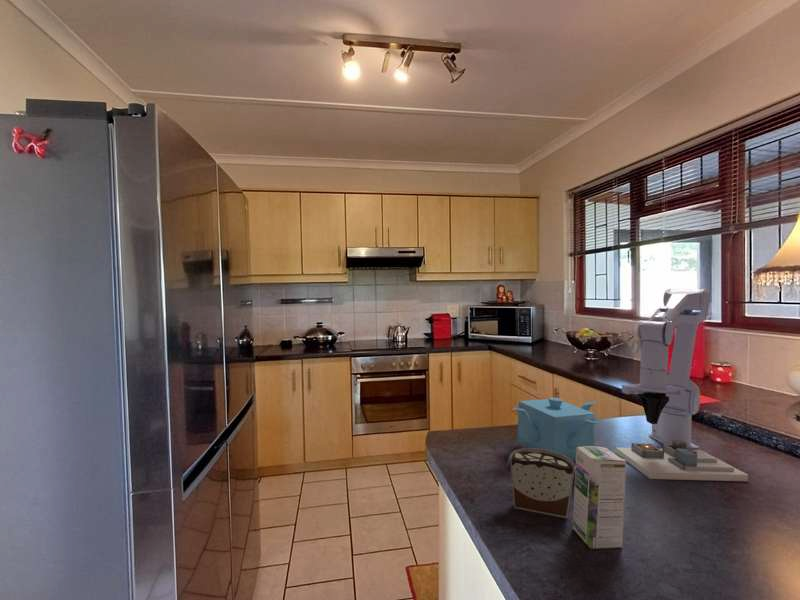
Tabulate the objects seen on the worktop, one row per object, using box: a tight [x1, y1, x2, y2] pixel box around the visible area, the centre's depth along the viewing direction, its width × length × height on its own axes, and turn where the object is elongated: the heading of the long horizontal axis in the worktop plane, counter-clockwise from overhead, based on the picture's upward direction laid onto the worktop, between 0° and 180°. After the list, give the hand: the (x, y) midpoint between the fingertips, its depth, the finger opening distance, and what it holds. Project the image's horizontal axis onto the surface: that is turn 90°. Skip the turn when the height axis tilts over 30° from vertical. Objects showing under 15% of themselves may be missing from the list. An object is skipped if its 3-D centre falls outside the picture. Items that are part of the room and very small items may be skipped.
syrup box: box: [572, 445, 627, 550], centre depth 65 cm, size 6×6×14 cm
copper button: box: [640, 443, 655, 450], centre depth 98 cm, size 3×3×2 cm
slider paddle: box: [675, 448, 697, 466], centre depth 91 cm, size 4×2×3 cm, turn 0°
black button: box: [672, 440, 687, 450], centre depth 98 cm, size 3×3×2 cm
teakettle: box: [512, 397, 599, 464], centre depth 98 cm, size 19×19×15 cm
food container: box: [507, 447, 576, 519], centre depth 75 cm, size 12×6×10 cm, turn 71°
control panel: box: [614, 442, 749, 482], centre depth 94 cm, size 14×22×3 cm, turn 90°
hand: (651, 422), depth 98 cm, fingers closed
